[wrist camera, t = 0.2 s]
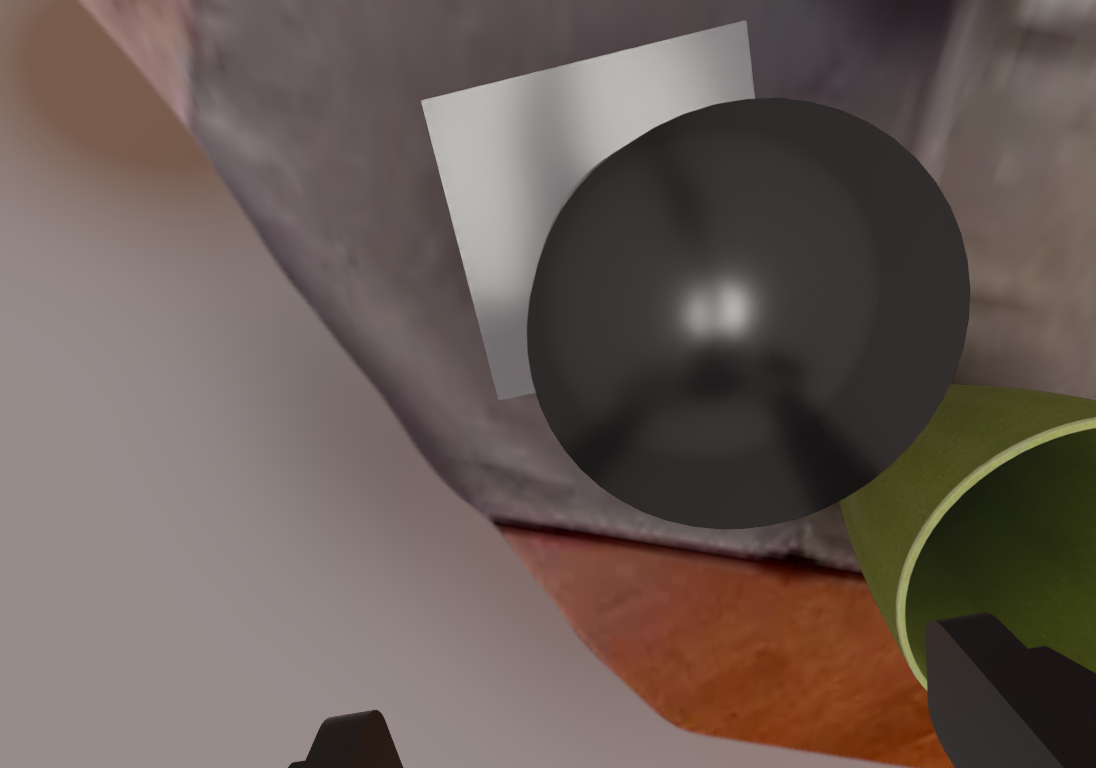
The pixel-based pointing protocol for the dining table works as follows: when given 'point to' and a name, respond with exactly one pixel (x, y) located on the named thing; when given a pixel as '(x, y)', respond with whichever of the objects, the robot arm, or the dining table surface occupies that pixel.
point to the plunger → (747, 313)
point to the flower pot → (987, 522)
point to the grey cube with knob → (557, 160)
